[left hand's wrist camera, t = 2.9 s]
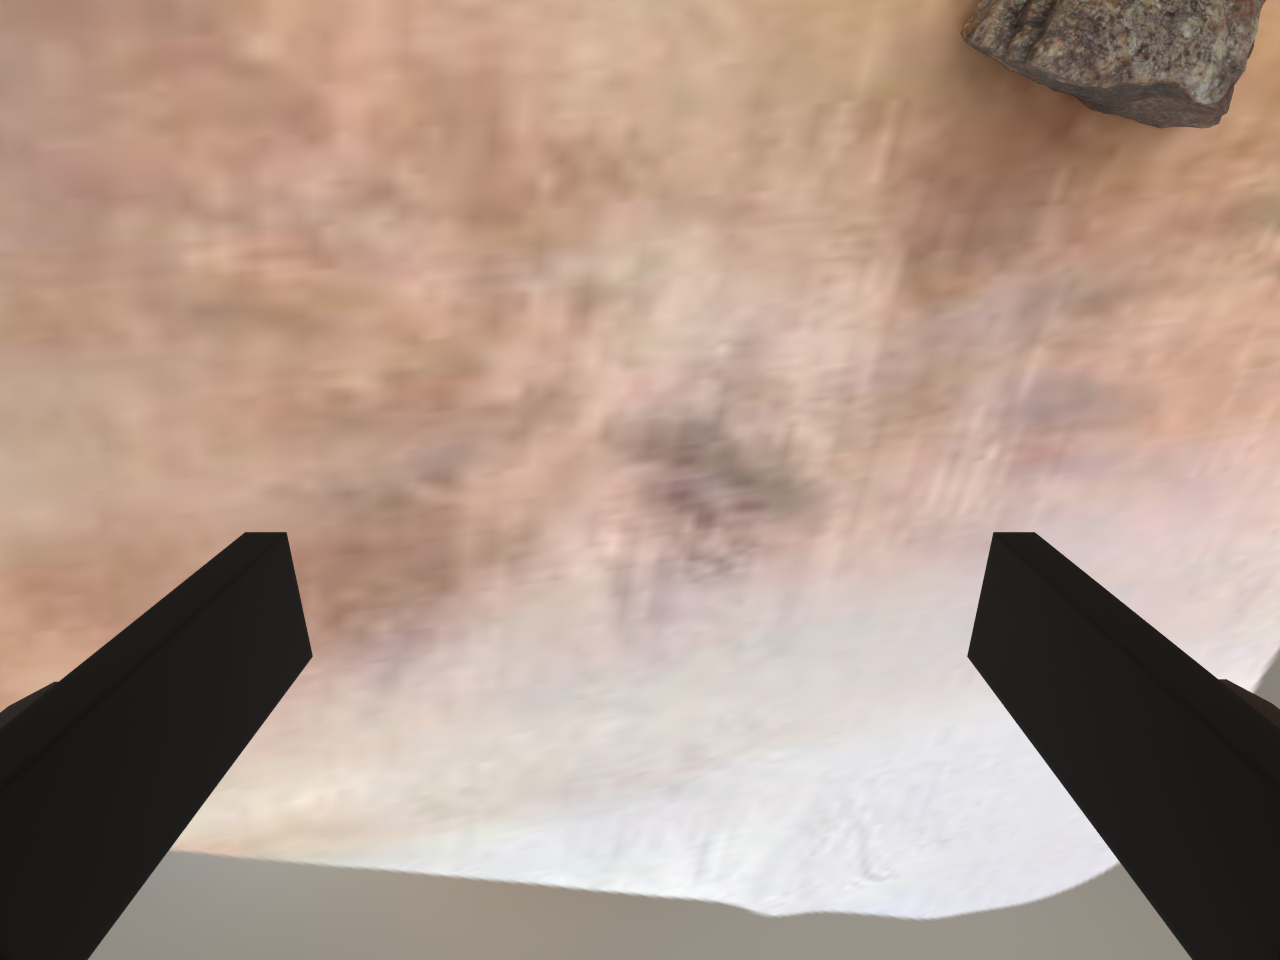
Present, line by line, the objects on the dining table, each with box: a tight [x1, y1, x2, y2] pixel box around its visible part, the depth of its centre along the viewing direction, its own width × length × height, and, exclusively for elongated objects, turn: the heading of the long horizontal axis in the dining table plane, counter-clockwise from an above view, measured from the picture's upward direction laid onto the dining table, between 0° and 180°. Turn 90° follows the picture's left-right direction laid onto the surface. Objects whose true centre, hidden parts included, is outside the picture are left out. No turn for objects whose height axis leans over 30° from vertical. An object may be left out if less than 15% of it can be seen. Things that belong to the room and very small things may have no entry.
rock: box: [961, 0, 1266, 128], centre depth 30 cm, size 14×9×10 cm
